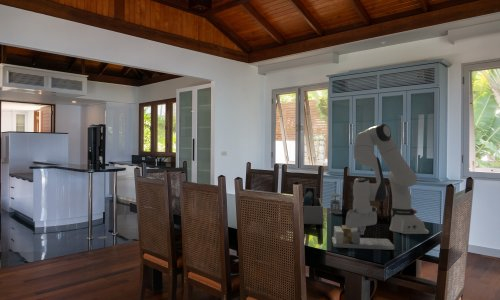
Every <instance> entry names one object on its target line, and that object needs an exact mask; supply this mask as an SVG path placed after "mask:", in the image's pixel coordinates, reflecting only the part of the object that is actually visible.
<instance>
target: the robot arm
mask: <svg viewBox="0 0 500 300" xmlns="http://www.w3.org/2000/svg"><path fill="white" fill-rule="evenodd" d="M375 146H376V148H377V150H378V153H379V155H380V157H381V159H382V160H383V163H384V164H385V166H386V167H387V168H388V169H389V172H388V174H387V179H388V180H389V184H390V189H391V190H390V191H391V195H392V197H391V199H392V204H391V205H392V206H391V210H390V212H391V213H390V215H391V221H390V225H389V231H391V232H393V233H401V234H405V235H423V234H425V235H427V234H428V235H429V233H430V231H429V230H428V229H427V228H426V226H425V223H424V221H423V220H421V219H420V217H418V216H417V215H415V214H418V211H417V210H416V209H414V208H412V194H411V192H410V187H413V186H415V185H416V184H417V182H418V177H417V174H416V173H415V172H414V171H413V169H412V168H411V167H410V166H409V164H408V163H407V161H406V160H405V159H404V157H403V155H402V154H401V151H400V149H399V147H398V146H397V143H396V142H395V140H394V139H393V138H392V131H391V128H390V126H388V125H387V124H385V123H382V124H380V123H379V124H377V125H374V126H371V127H368V128H366V129H364V130H363V131H360V132H358V133H357V134H356V136H355V139H354V144H353V158H354V159H355V161H356V162H357V163H358V164H360V165H362V166H365V167H367V168H368V169H369V168H370V169H371V170H373V171H374V174H375V181H376V182H375V183H374V182H373V183H371V182H370V180H369V178H367V177H357V178H355V179H354V180H353V184H352V186H351V189H350V190H351V191H350V193H351V198H353V199H352V200H353V202H352V209H349V210H348V211H347V212H346V217H345V225H346V227H348V228H355V227H357V229H358V230H359V232H360V236H362V235H364V234H365V231H366V229H367V228H366V227H367V226H369V227H370V226H374V225H377V222H378V218H377V213H378V212H376V211H377V208H376V207H373V206H370V204H371V202H370V201H376V202H382V201H383V202H384V201H385V200H386V199H387V197H388V189H387V186H386V182H385V178H384V173H383V169H382V164H381V161H380V158H379V157H377V156H376V154H375V153H374V152H375V151H374V147H375Z"/></svg>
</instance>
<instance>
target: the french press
mask: <svg viewBox="0 0 500 300" xmlns="http://www.w3.org/2000/svg"><path fill="white" fill-rule="evenodd" d="M337 182H338V181H334V182H333V183H335V184H334V185H335V190H334V191H335V193H331V194H330V195H329V196H330V197H335V199H331V200H330V210H329V212H328V213H329V214H332V213H334V215H340V214H342V212H341V208H342V207H343V206H344V204H345V200H344V199H342V197H341V194H339V193H337V191H336V186H337ZM336 197H337V198H338V197H339V198H338V200H337V199H336ZM341 200H342V201H341ZM341 203H342V204H341Z"/></svg>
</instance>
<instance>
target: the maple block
mask: <svg viewBox="0 0 500 300" xmlns="http://www.w3.org/2000/svg"><path fill="white" fill-rule="evenodd" d="M341 228H342V230H343V232H344V242H351V228H348V227H346V224H342V225H341Z"/></svg>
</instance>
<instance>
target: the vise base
mask: <svg viewBox="0 0 500 300" xmlns="http://www.w3.org/2000/svg"><path fill="white" fill-rule="evenodd" d="M331 241H332V246H333V247H334V248H344V249H367V250H368V249H369V250H386V251H387V250H388V251H389V250H391V251H395V245H394V244H393V243H392V242H391V240H390V239H388V238H377V237H376V238H373V237H370V238H369V237H360V244H353V243H352V242H344V232H343V230H342V226H340V225H338V226H337V225H333V236H332V237H331Z"/></svg>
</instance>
